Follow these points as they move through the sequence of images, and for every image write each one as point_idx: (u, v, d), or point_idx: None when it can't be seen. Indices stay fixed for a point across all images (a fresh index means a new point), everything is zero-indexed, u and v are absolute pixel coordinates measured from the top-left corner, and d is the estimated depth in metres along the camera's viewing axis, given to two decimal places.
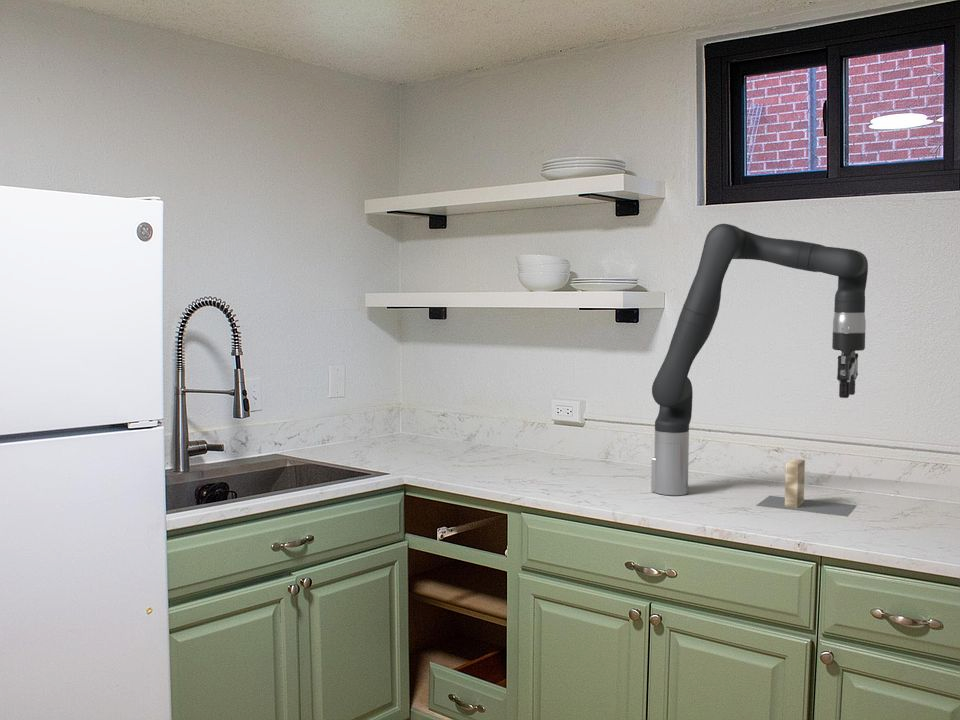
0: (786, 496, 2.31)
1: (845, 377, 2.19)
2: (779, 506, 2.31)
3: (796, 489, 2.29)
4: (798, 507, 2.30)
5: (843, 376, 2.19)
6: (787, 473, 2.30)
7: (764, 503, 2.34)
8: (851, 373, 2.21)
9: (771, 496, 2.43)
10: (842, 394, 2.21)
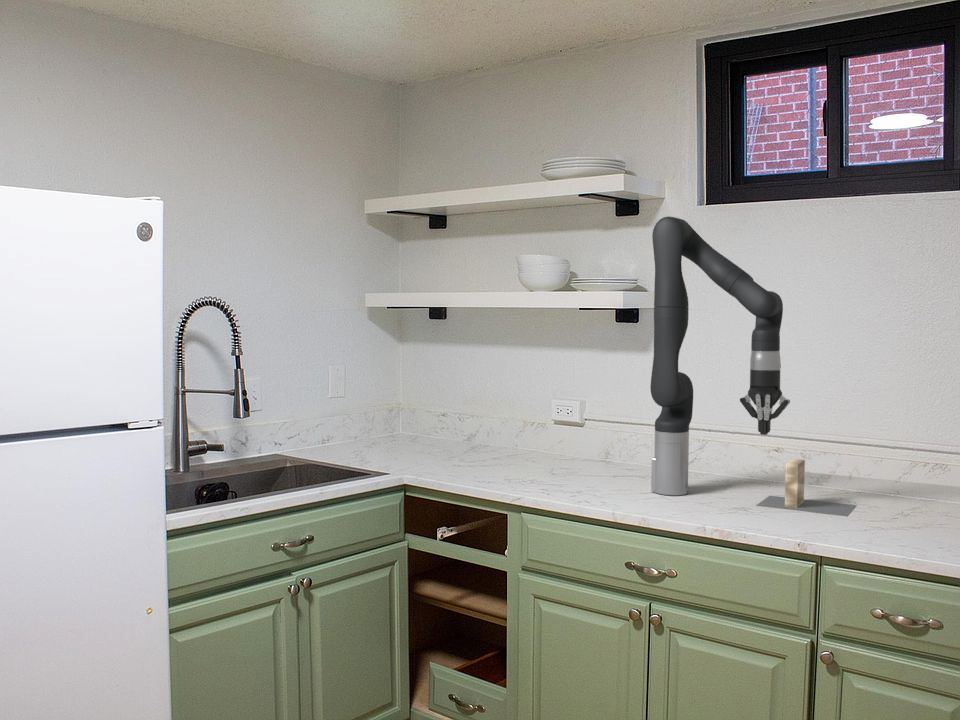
0: (786, 496, 2.31)
1: (777, 416, 2.35)
2: (779, 506, 2.31)
3: (796, 489, 2.29)
4: (798, 507, 2.30)
5: None
6: (787, 473, 2.30)
7: (764, 503, 2.34)
8: None
9: (771, 496, 2.43)
10: (769, 431, 2.36)
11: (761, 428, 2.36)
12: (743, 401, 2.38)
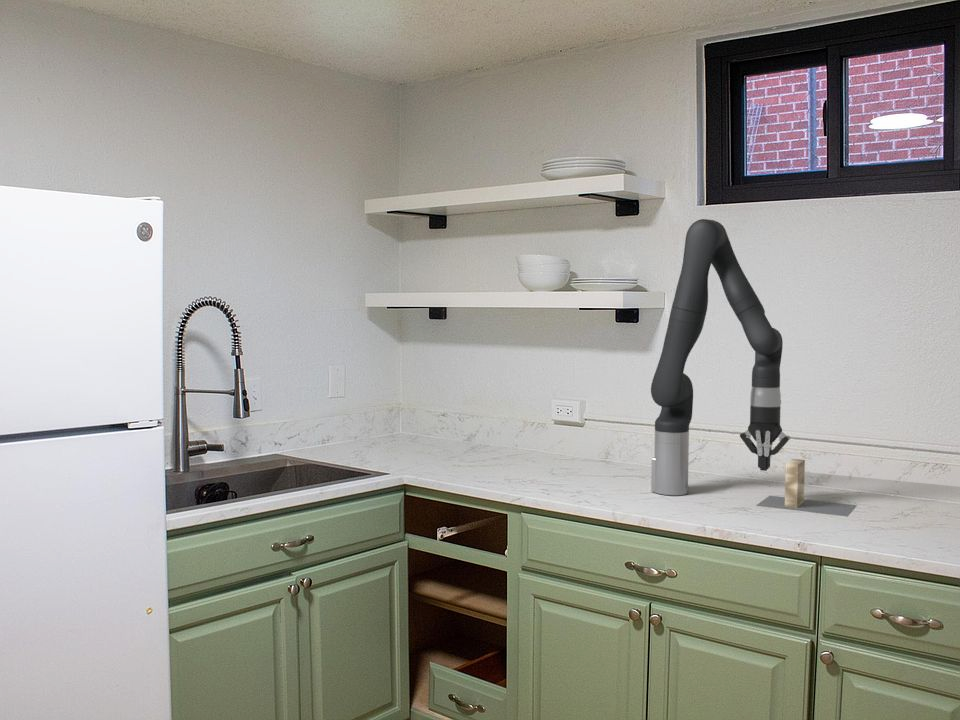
0: (786, 496, 2.31)
1: (777, 452, 2.36)
2: (779, 506, 2.31)
3: (796, 489, 2.29)
4: (798, 507, 2.30)
5: None
6: (787, 473, 2.30)
7: (764, 503, 2.34)
8: None
9: (771, 496, 2.43)
10: (768, 467, 2.36)
11: (761, 464, 2.36)
12: (743, 436, 2.38)
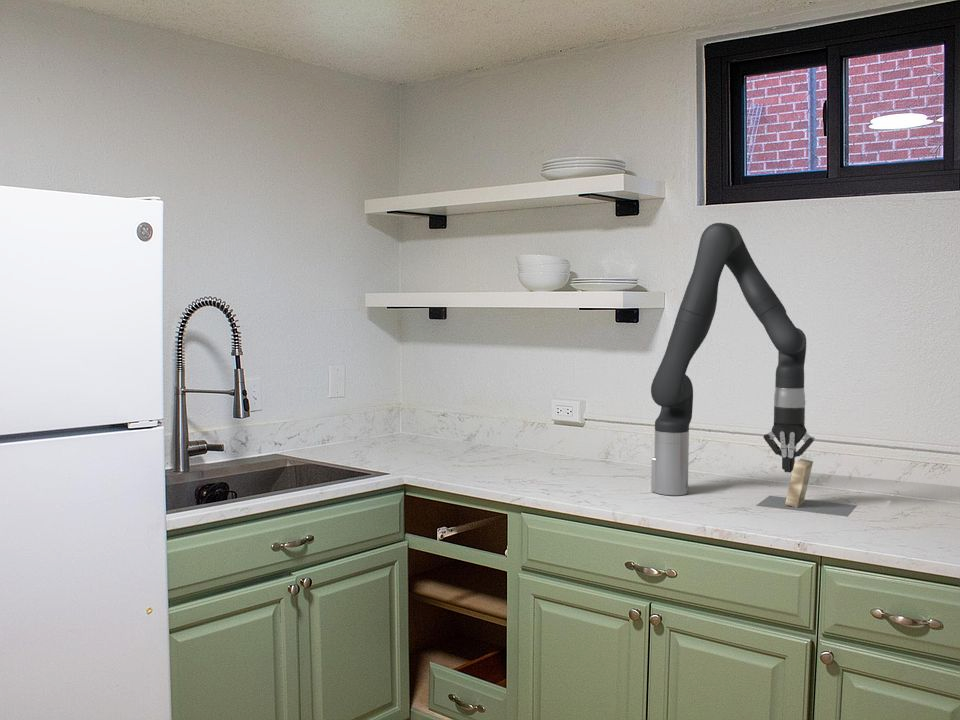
0: (788, 494, 2.30)
1: (801, 454, 2.33)
2: (779, 506, 2.31)
3: (800, 490, 2.29)
4: (798, 507, 2.30)
5: None
6: (794, 472, 2.29)
7: (764, 503, 2.34)
8: None
9: (771, 496, 2.43)
10: None
11: (785, 466, 2.33)
12: (767, 438, 2.35)
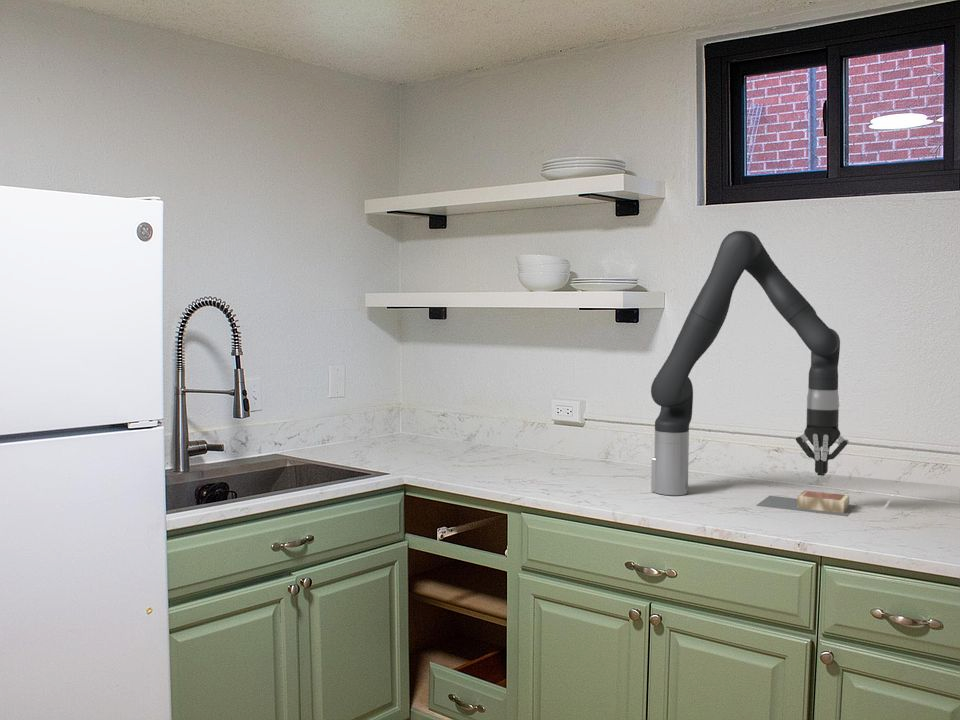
0: (808, 498, 2.28)
1: None
2: (779, 506, 2.31)
3: (816, 509, 2.27)
4: None
5: None
6: (833, 501, 2.25)
7: (764, 503, 2.34)
8: None
9: (771, 496, 2.43)
10: (826, 472, 2.29)
11: (818, 469, 2.29)
12: (799, 440, 2.31)
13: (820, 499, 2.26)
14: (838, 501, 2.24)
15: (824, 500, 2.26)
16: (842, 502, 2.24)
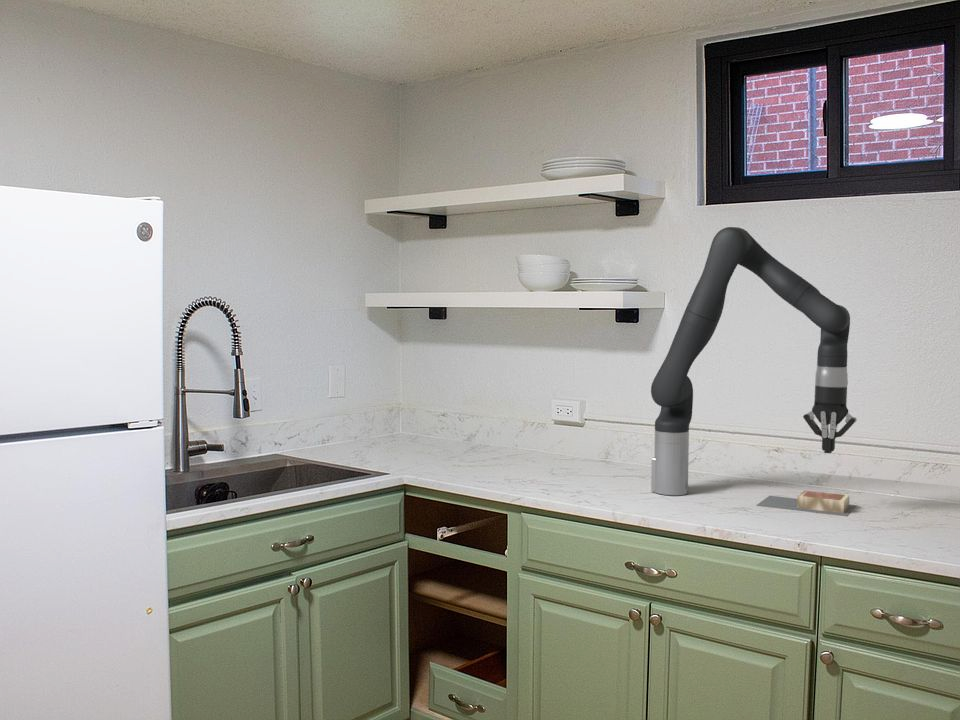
0: (808, 498, 2.28)
1: None
2: (779, 506, 2.31)
3: (816, 509, 2.27)
4: None
5: None
6: (833, 501, 2.25)
7: (764, 503, 2.34)
8: None
9: (771, 496, 2.43)
10: (833, 450, 2.28)
11: (825, 446, 2.28)
12: (807, 418, 2.30)
13: (820, 499, 2.26)
14: (838, 501, 2.24)
15: (824, 500, 2.26)
16: (842, 502, 2.24)
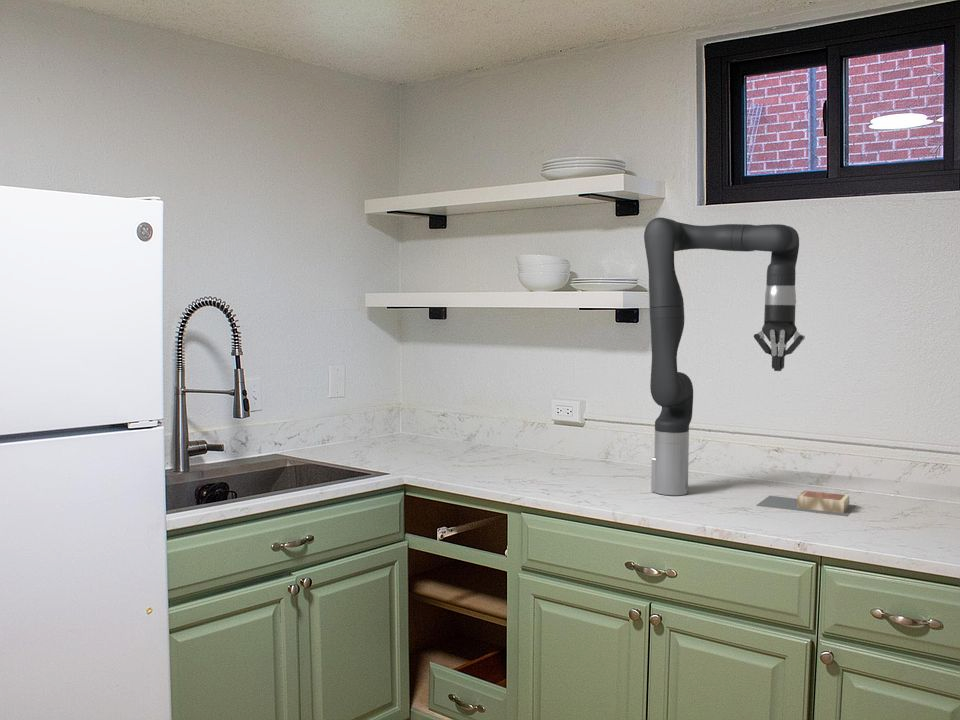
0: (808, 498, 2.28)
1: (791, 352, 2.33)
2: (779, 506, 2.31)
3: (816, 509, 2.27)
4: None
5: None
6: (833, 501, 2.25)
7: (764, 503, 2.34)
8: None
9: (771, 496, 2.43)
10: (782, 367, 2.33)
11: (775, 364, 2.33)
12: (757, 337, 2.35)
13: (820, 499, 2.26)
14: (838, 501, 2.24)
15: (824, 500, 2.26)
16: (842, 502, 2.24)
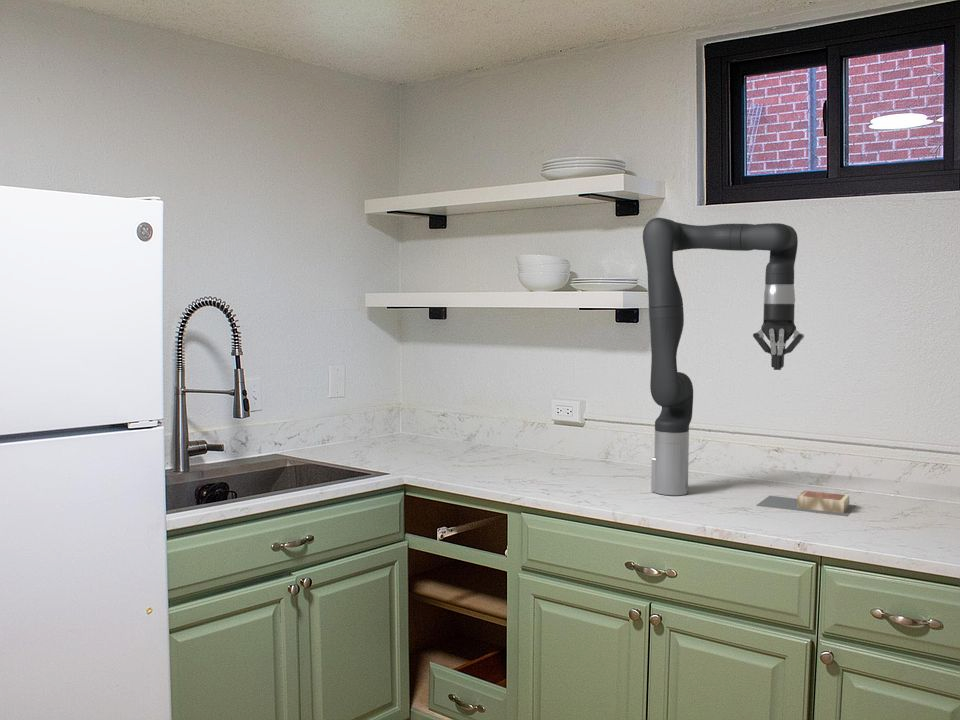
0: (808, 498, 2.28)
1: (790, 351, 2.33)
2: (779, 506, 2.31)
3: (816, 509, 2.27)
4: None
5: None
6: (833, 501, 2.25)
7: (764, 503, 2.34)
8: None
9: (771, 496, 2.43)
10: (782, 366, 2.33)
11: (774, 363, 2.33)
12: (756, 336, 2.35)
13: (820, 499, 2.26)
14: (838, 501, 2.24)
15: (824, 500, 2.26)
16: (842, 502, 2.24)
